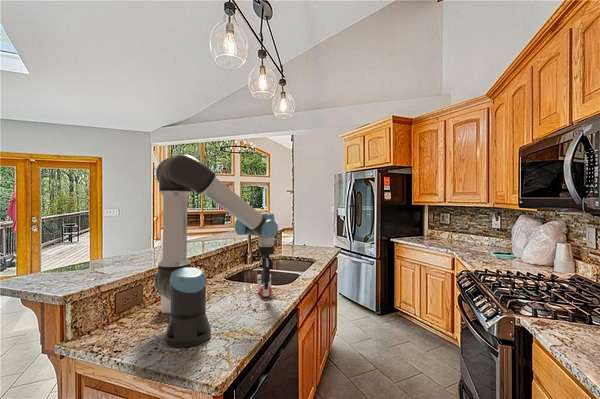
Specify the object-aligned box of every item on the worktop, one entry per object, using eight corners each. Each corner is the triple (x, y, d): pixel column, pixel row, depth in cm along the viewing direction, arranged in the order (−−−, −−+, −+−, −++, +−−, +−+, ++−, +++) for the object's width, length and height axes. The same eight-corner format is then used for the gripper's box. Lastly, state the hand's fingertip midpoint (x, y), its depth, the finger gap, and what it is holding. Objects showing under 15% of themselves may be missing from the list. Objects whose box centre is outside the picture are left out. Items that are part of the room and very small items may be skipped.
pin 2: (271, 292, 160) (271, 275, 160) (267, 292, 160) (267, 275, 160) (270, 291, 162) (270, 274, 162) (266, 291, 162) (266, 274, 162)
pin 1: (261, 292, 159) (261, 275, 159) (257, 293, 159) (257, 275, 159) (261, 291, 161) (261, 274, 161) (257, 292, 161) (257, 274, 161)
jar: (160, 308, 137) (160, 281, 137) (179, 305, 141) (179, 279, 141) (161, 314, 129) (161, 286, 129) (182, 311, 133) (182, 283, 133)
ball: (270, 283, 156) (272, 295, 155) (258, 285, 155) (260, 297, 154) (271, 284, 151) (273, 296, 150) (259, 286, 149) (260, 299, 148)
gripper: (275, 247, 140) (275, 299, 140) (272, 243, 153) (272, 291, 153) (259, 247, 139) (258, 300, 139) (257, 243, 152) (257, 291, 152)
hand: (265, 295), depth 146 cm, fingers closed
